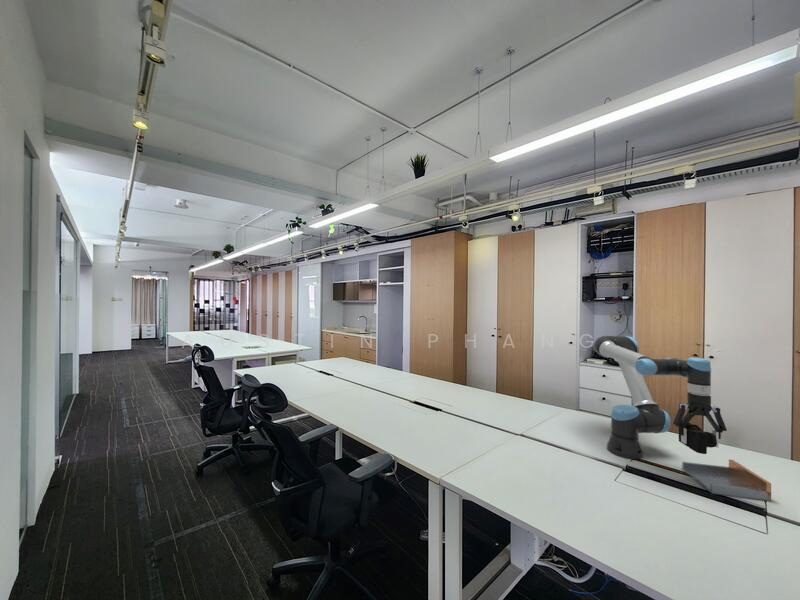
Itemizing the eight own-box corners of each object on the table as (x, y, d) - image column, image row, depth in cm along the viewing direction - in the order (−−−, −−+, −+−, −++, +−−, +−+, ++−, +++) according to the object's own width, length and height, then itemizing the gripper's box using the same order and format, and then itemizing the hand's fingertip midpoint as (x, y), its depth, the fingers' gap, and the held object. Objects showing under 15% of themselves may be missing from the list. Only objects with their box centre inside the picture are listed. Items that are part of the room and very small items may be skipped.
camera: (726, 456, 131) (726, 432, 131) (696, 453, 133) (696, 429, 133) (703, 442, 144) (703, 420, 144) (675, 440, 147) (675, 418, 147)
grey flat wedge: (712, 493, 131) (712, 476, 131) (682, 469, 149) (682, 454, 149) (771, 501, 126) (771, 483, 126) (732, 475, 145) (732, 459, 145)
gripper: (672, 393, 139) (672, 444, 139) (738, 398, 133) (739, 451, 132) (663, 389, 146) (663, 437, 146) (725, 393, 140) (726, 444, 139)
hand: (699, 444), depth 139 cm, fingers closed on camera, 11 cm apart
